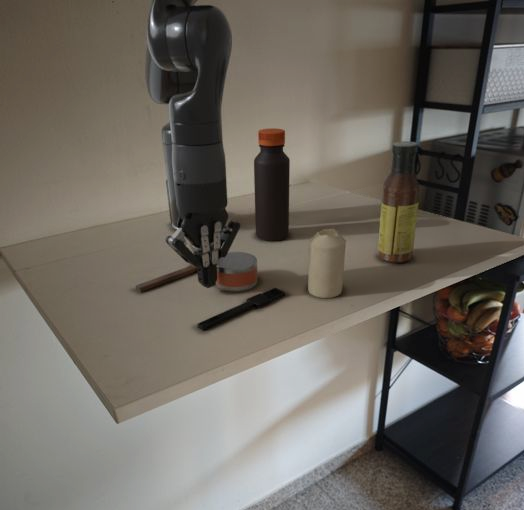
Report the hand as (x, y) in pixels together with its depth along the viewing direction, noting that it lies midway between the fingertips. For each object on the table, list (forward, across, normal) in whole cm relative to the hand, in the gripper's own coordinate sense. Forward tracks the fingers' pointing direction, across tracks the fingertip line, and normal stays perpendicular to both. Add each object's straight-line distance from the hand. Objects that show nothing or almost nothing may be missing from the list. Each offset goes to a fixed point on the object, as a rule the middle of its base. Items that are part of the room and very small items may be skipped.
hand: (208, 285), depth 80 cm
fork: (+2, -1, +8) cm, 8 cm away
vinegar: (+1, -25, -12) cm, 28 cm away
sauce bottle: (+1, -33, +12) cm, 36 cm away
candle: (+1, -14, +12) cm, 19 cm away
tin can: (+1, -6, 0) cm, 6 cm away
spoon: (+1, 0, -9) cm, 9 cm away
